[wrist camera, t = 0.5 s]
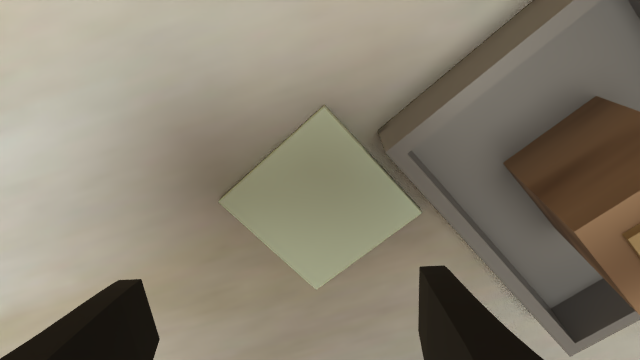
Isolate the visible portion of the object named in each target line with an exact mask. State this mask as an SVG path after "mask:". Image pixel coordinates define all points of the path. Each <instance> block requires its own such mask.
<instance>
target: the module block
mask: <svg viewBox="0 0 640 360" xmlns="http://www.w3.org/2000/svg"><path fill="white" fill-rule="evenodd" d="M503 164H504V165H505V167H506V168H507V169H508V170H509V172H510V173H511V174H512V175H513V177H514V178H515V179H516V180H517V182H518V183H519V184H520V185H521V187H522V188H523V189H524V190H525V191H526V193H527V194H528V195H529V196H530V198H531V199H532V200H533V201H534V203H535V204H536V205H537V206H538V208H539V209H540V210H541V211H542V213H543V214H544V215H545V216H546V218H547V219H548V220H549V221H550V223H551V224H552V225H553V226H554V228H555V229H556V230H557V231H558V232H559V233H560V234H561V235H562V236H563V237H564V238H565V239H566V240H567V241H568V242H569V243H570V244H571V245H572V246H573V247H574V248H575V249H576V250H577V251H578V252H579V254H580V255H581V256H582V257H583V258H584V259H585V260H586V261H587V262H588V263H589V264H590V265H591V266H592V267H593V268H594V269H595V270H596V271H597V272H598V273H599V274H600V275H601V276H602V277H603V278H604V279H605V280H606V281H607V282H608V283H609V284H610V285H611V286H612V288H613V289H614V290H615V291H616V292H617V293H618V294H619V295H620V296H621V297H622V298H623V299H624V300H625V301H626V302H627V303H628V304H629V305H630V306H631V307H632V308H633V309H634V310H635V311H636V312H637V313H638V314H639V315H640V111H637V110H634V109H631V108H629V107H626V106H623V105H620V104H617V103H615V102H612V101H609V100H606V99H604V98H601V97H598V96H595V97H594V98H592V99H591V100H590V101H588V102H587V103H585V104H584V105H583V106H581V107H580V108H578V109H577V110H576V111H574V112H573V113H572V114H570V115H569V116H567V117H566V118H565V119H563V120H562V121H560V122H559V123H558V124H556V125H555V126H553V127H552V128H551V129H549V130H548V131H547V132H545V133H544V134H542V135H541V136H540V137H538V138H537V139H535V140H534V141H533V142H531V143H530V144H529V145H527V146H526V147H524V148H523V149H522V150H520V151H519V152H517V153H516V154H515V155H513V156H512V157H510V158H509V159H508V160H506V161H505V162H504V163H503Z"/></svg>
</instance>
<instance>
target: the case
mask: <svg viewBox="0 0 640 360" xmlns="http://www.w3.org/2000/svg"><path fill="white" fill-rule="evenodd" d="M595 96H598V97H601V98H604V99H606V100H609V101H612V102H615V103H617V104H620V105H623V106H626V107H629V108H631V109H634V110H637V111H640V0H534V1H532V2H531V3H530V4H529V5H528V6H526V7H525V8H524V9H523V10H522V11H520V12H519V13H518V14H517V15H516V16H514V17H513V18H512V19H511V20H510V21H508V22H507V23H506V24H505V25H504V26H502V27H501V28H500V29H499V30H498V31H496V32H495V33H494V34H493V35H492V36H490V37H489V38H488V39H487V40H486V41H484V42H483V43H482V44H481V45H480V46H478V47H477V48H476V49H475V50H474V51H472V52H471V53H470V54H469V55H468V56H466V57H465V58H464V59H463V60H462V61H460V62H459V63H458V64H457V65H456V66H454V67H453V68H452V69H451V70H450V71H448V72H447V73H446V74H445V75H444V76H442V77H441V78H440V79H439V80H438V81H436V82H435V83H434V84H433V85H432V86H431V87H429V88H428V89H427V90H426V91H425V92H423V93H422V94H421V95H420V96H419V97H417V98H416V99H415V100H414V101H413V102H411V103H410V104H409V105H408V106H407V107H405V108H404V109H403V110H402V111H401V112H399V113H398V114H397V115H396V116H395V117H393V118H392V119H391V120H390V121H389V122H387V123H386V124H385V125H384V126H383V127H381V128H380V129H379V130H378V132H379V135H380V139H381V142H382V145H383V148H384V151H385V153H386V154H387V155H388V156H389V157H390V159H391V160H392V161H393V162H394V163H395V164H396V165H397V166H398V167H399V169H400V170H401V171H402V172H403V173H404V174H405V175H406V176H407V177H408V178H409V180H410V181H411V182H412V183H413V184H414V185H415V186H416V187H417V188H418V190H419V191H420V192H421V193H422V194H423V195H424V196H425V197H426V198H427V199H428V201H429V202H430V203H431V204H432V205H433V206H434V207H435V208H436V209H437V210H438V212H439V213H440V214H441V215H442V216H443V217H444V218H445V219H446V220H447V222H448V223H449V224H450V225H451V226H452V227H453V228H454V229H455V230H456V231H457V233H458V234H459V235H460V236H461V237H462V238H463V239H464V240H465V241H466V243H467V244H468V245H469V246H470V247H471V248H472V249H473V250H474V251H475V252H476V254H477V255H478V256H479V257H480V258H481V259H482V260H483V261H484V262H485V264H486V265H487V266H488V267H489V268H490V269H491V270H492V271H493V272H494V273H495V275H496V276H497V277H498V278H499V279H500V280H501V281H502V282H503V283H504V284H505V286H506V287H507V288H508V289H509V290H510V291H511V292H512V293H513V294H514V296H515V297H516V298H517V299H518V300H519V301H520V302H521V303H522V304H523V305H524V307H525V308H526V309H527V310H528V311H529V312H530V313H531V314H532V315H533V317H534V318H535V319H536V320H537V321H538V322H539V323H540V324H541V325H542V326H543V328H544V329H545V330H546V331H547V332H548V333H549V334H550V335H551V336H552V337H553V339H554V340H555V341H556V342H557V343H558V344H559V345H560V346H561V347H562V349H563V350H564V351H565V352H566V353H567V354H568V355H569V356H570V357H571V356H573V355H574V354H576V353H578V352H580V351H582V350H584V349H586V348H588V347H590V346H591V345H593V344H595V343H597V342H599V341H601V340H603V339H605V338H606V337H608V336H610V335H612V334H614V333H616V332H618V331H620V330H622V329H623V328H625V327H627V326H629V325H631V324H633V323H635V322H637V321H639V320H640V315H639V314H638V313H637V312H636V311H635V310H634V309H633V308H632V307H631V306H630V305H629V304H628V303H627V302H626V301H625V300H624V299H623V298H622V297H621V296H620V295H619V294H618V293H617V292H616V291H615V290H614V289H613V288H612V286H611V285H610V284H609V283H608V282H607V281H606V280H605V279H604V278H603V277H602V276H601V275H600V274H599V273H598V272H597V271H596V270H595V269H594V268H593V267H592V266H591V265H590V264H589V263H588V262H587V261H586V260H585V259H584V258H583V257H582V256H581V255H580V254H579V252H578V251H577V250H576V249H575V248H574V247H573V246H572V245H571V244H570V243H569V242H568V241H567V240H566V239H565V238H564V237H563V236H562V235H561V234H560V233H559V232H558V231H557V230H556V229H555V228H554V226H553V225H552V224H551V223H550V221H549V220H548V219H547V218H546V216H545V215H544V214H543V213H542V211H541V210H540V209H539V208H538V206H537V205H536V204H535V203H534V201H533V200H532V199H531V198H530V196H529V195H528V194H527V193H526V191H525V190H524V189H523V188H522V187H521V185H520V184H519V183H518V182H517V180H516V179H515V178H514V177H513V175H512V174H511V173H510V172H509V170H508V169H507V168H506V167H505V165H504V164H503V163H504V162H505V161H506V160H508V159H509V158H510V157H512V156H513V155H515V154H516V153H517V152H519V151H520V150H522V149H523V148H524V147H526V146H527V145H529V144H530V143H531V142H533V141H534V140H535V139H537V138H538V137H540V136H541V135H542V134H544V133H545V132H547V131H548V130H549V129H551V128H552V127H553V126H555V125H556V124H558V123H559V122H560V121H562V120H563V119H565V118H566V117H567V116H569V115H570V114H572V113H573V112H574V111H576V110H577V109H578V108H580V107H581V106H583V105H584V104H585V103H587V102H588V101H590V100H591V99H592V98H594V97H595Z"/></svg>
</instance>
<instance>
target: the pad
mask: <svg viewBox="0 0 640 360" xmlns="http://www.w3.org/2000/svg"><path fill="white" fill-rule="evenodd" d="M218 203H220V204H221V205H222V206H223V207H224V208H225V209H226V210H227V211H228V212H230V213H231V214H232V215H233V216H234V217H235V218H236V219H237V220H239V221H240V222H241V223H242V224H243V225H244V226H245V227H246V228H247V229H249V230H250V231H251V232H252V233H253V234H254V235H255V236H256V237H258V238H259V239H260V240H261V241H262V242H263V243H264V244H265V245H266V246H268V247H269V248H270V249H271V250H272V251H273V252H274V253H275V254H276V255H278V256H279V257H280V258H281V259H282V260H283V261H284V262H285V263H287V264H288V265H289V266H290V267H291V268H292V269H293V270H294V271H295V272H297V273H298V274H299V275H300V276H301V277H302V278H303V279H304V280H306V281H307V282H308V283H309V284H310V285H311V286H312V287H313V288H314V289H316V290H317V289H318V288H320V287H321V286H322V285H324V284H325V283H327V282H328V281H329V280H331V279H332V278H333V277H335V276H336V275H338V274H339V273H340V272H342V271H343V270H344V269H346V268H347V267H349V266H350V265H351V264H353V263H354V262H355V261H357V260H358V259H360V258H361V257H362V256H364V255H365V254H366V253H368V252H369V251H371V250H372V249H373V248H375V247H376V246H377V245H379V244H380V243H382V242H383V241H384V240H386V239H387V238H388V237H390V236H391V235H393V234H394V233H395V232H397V231H398V230H399V229H401V228H402V227H403V226H405V225H406V224H408V223H409V222H410V221H412V220H413V219H414V218H416V217H417V216H419V215H420V214H421V213H422V211H421V209H420V208H419V207H418V206H417V205H416V204H415V202H414V201H413V200H412V199H411V198H410V197H409V196H408V195H407V194H406V193H405V192H404V191H403V189H402V188H401V187H400V186H399V185H398V184H397V183H396V182H395V181H394V180H393V179H392V178H391V176H390V175H389V174H388V173H387V172H386V171H385V170H384V169H383V168H382V167H381V166H380V164H379V163H378V162H377V161H376V160H375V159H374V158H373V157H372V156H371V155H370V154H369V153H368V151H367V150H366V149H365V148H364V147H363V146H362V145H361V144H360V143H359V142H358V141H357V140H356V138H355V137H354V136H353V135H352V134H351V133H350V132H349V131H348V130H347V129H346V128H345V126H344V125H343V124H342V123H341V122H340V121H339V120H338V119H337V118H336V117H335V116H334V115H333V113H332V112H331V111H330V110H329V109H328V108H327V107H326V106H325V105H324V106H323V107H322V108H320V109H319V110H318V111H317V112H316V113H315V114H314V115H313V116H312V117H311V118H309V119H308V120H307V121H306V122H305V123H304V124H303V125H302V126H301V127H299V128H298V129H297V130H296V131H295V132H294V133H293V134H292V135H291V136H289V137H288V138H287V139H286V140H285V141H284V142H283V143H282V144H281V145H280V146H278V147H277V148H276V149H275V150H274V151H273V152H272V153H271V154H270V155H268V156H267V157H266V158H265V159H264V160H263V161H262V162H261V163H260V164H258V165H257V166H256V167H255V168H254V169H253V170H252V171H251V172H250V173H249V174H247V175H246V176H245V177H244V178H243V179H242V180H241V181H240V182H239V183H237V184H236V185H235V186H234V187H233V188H232V189H231V190H230V191H229V192H227V193H226V194H225V195H224V196H223V197H222V198H221V199H220V201H219V202H218Z"/></svg>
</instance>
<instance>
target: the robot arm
mask: <svg viewBox="0 0 640 360" xmlns="http://www.w3.org/2000/svg"><path fill="white" fill-rule="evenodd" d="M419 336H420V341H421V346H422V352H423V357H424V360H544V359H542V358H541V357H540V356H539V355H537V354H536V353H535V352H534V351H533V350H531V349H530V348H529V347H528V346H527V345H526V344H524V343H523V342H522V341H521V340H520V339H519V338H517V337H516V336H515V335H514V334H513V333H512V332H511V331H510V330H509V329H507V328H506V327H505V326H504V325H503V324H502V323H501V322H500V321H499V320H498V319H497V318H496V317H495V316H494V315H493V314H492V313H491V312H489V311H488V310H487V309H486V308H485V307H484V306H483V305H482V304H481V303H480V302H479V301H478V300H477V299H476V298H475V297H474V296H473V295H472V294H471V293H470V292H469V290H468V289H467V288H466V287H465V286H464V285H463V284H462V283H461V282H460V281H459V280H458V279H457V278H456V277H455V276H454V275H453V274H452V272H451V271H450V270H449V269H448V268H447V267H445V266H424V267H420V275H419ZM159 340H160V339H159V336H158V332H157V329H156V326H155V323H154V319H153V316H152V313H151V309H150V306H149V303H148V300H147V296H146V293H145V290H144V287H143V283H142V280H141V279H135V280H118V281H117V282H115V283H113V284H112V285H110V286H108V287H107V288H105V289H104V290H102V291H101V292H99V293H98V294H96V295H95V296H93V297H92V298H90V299H89V300H87V301H86V302H84V303H83V304H81V305H80V306H78V307H77V308H76V309H74V310H73V311H71V312H70V313H68V314H67V315H65V316H64V317H63V318H61V319H60V320H58V321H57V322H55V323H54V324H52V325H51V326H49V327H48V328H47V329H45V330H44V331H42V332H41V333H39V334H38V335H36V336H35V337H33V338H32V339H30V340H29V341H27V342H25V343H24V344H22V345H21V346H19V347H18V348H16V349H15V350H13V351H12V352H10V353H8V354H7V355H5V356H4V357H2V358H1V359H0V360H153V358H154V355H155V352H156V349H157V346H158V343H159Z"/></svg>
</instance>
